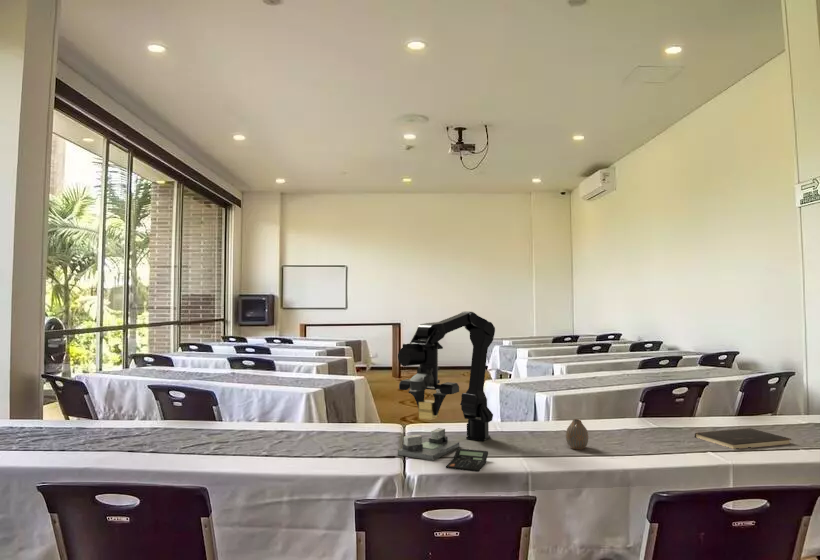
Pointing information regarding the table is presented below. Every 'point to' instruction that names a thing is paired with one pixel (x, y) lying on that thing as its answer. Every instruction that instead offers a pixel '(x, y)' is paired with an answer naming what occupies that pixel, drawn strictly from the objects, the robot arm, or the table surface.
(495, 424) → the table surface
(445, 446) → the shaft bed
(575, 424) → the vase
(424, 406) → the tan cube
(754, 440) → the hardcover book
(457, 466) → the calculator
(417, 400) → the robot arm
